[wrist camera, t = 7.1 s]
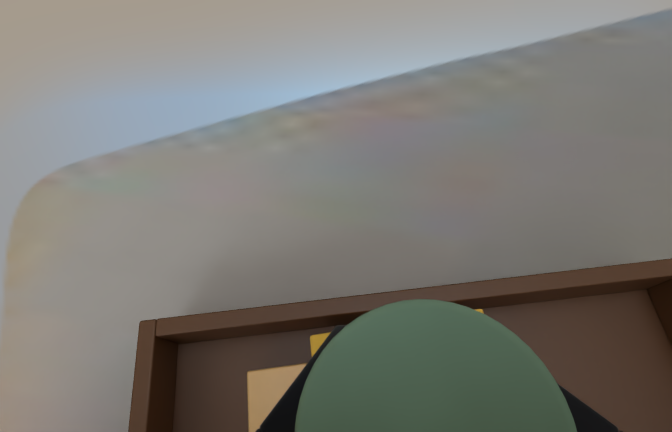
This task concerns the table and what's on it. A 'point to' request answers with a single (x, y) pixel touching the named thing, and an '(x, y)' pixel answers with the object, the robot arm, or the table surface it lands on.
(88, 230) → the table surface
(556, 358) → the tray
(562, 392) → the robot arm
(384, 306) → the sponge wand
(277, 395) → the tan rectangular slab
